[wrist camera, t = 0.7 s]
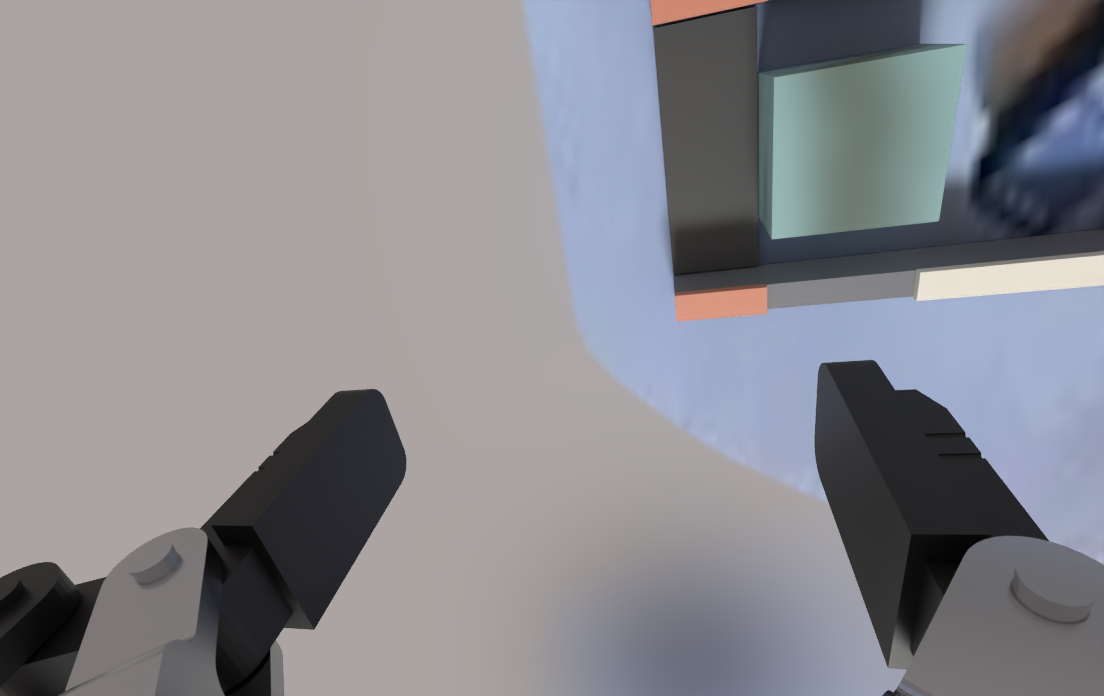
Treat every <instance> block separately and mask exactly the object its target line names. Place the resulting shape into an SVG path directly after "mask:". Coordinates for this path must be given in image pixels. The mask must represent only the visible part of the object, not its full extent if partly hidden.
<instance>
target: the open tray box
mask: <svg viewBox="0 0 1104 696" xmlns="http://www.w3.org/2000/svg"><path fill="white" fill-rule="evenodd" d="M767 1H772V0H650V2H651V14H652V25H653V26H655V25H660V24H664V23H669V22H674V21H678V20H683V19H688V18H692V17H697V16H702V15H706V14H711V13H716V12H720V11H725V10H730V9H734V8H739V7H744V6H748V5H753V4H758V3H762V2H767ZM653 29H654V41H655V53H656V65H657V77H658V90H659V102H660V114H661V126H662V138H663V150H664V162H665V175H666V187H667V199H668V211H669V223H670V235H671V247H672V259H673V272H674V288H675V303H676V315H677V321H687V320H699V319H710V318H722V317H734V316H746V315H758V314H767V309H771V308H783V307H794V306H806V305H817V304H829V303H841V302H852V301H864V300H875V299H887V298H898V297H910V296H913V298H914V299H915V300H916V301H923V300H935V299H947V298H959V297H970V296H982V295H994V294H1006V293H1018V292H1029V291H1041V290H1053V289H1065V288H1077V287H1089V286H1100V285H1104V229H1097V230H1088V231H1078V232H1069V233H1059V234H1050V235H1040V236H1031V237H1021V238H1012V239H1002V240H993V241H983V242H974V243H964V244H954V245H945V246H935V247H926V248H916V249H907V250H897V251H888V252H878V253H869V254H859V255H850V256H840V257H831V258H821V259H812V260H802V261H793V262H783V263H774V264H764V265H758V141H757V6H756V7H752V8H747V9H742V10H738V11H733V12H728V13H724V14H719V15H714V16H709V17H705V18H700V19H695V20H691V21H686V22H681V23H677V24H672V25H667V26H662V27H658V28H653Z"/></svg>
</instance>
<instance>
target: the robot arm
mask: <svg viewBox="0 0 1104 696" xmlns="http://www.w3.org/2000/svg"><path fill="white" fill-rule="evenodd" d="M273 453H274V454H273V456H269V457H268V458H267V459H266V460H265V461H264V462H263V463H262V464H261V465H260V466H259V470H258V471H255V472H254V473H253V474H252V475H251V476H250V477H249V478H248V479H247V480H246V481H245V482H244V483H243V484H242V485H241V486H240V487H239V488H238V489H237V490H236V492H235V493H234V494H233V495H232V496H231V497H230V498H229V499H228V500H227V501H226V502H225V503H224V504H223V505H222V506H221V507H220V508H219V509H218V510H217V511H216V512H215V513H214V514H213V516H212V517H211V518H210V519H209V520H208V521H207V522H206V523H205V524H204V525H203V526H202V527H201V528H200V529H198V528H183V529H178V530H174V531H171V532H168V533H165V534H163V535H161V536H158V537H156V538H154V539H152V540H150V541H148V542H147V543H145V544H143V545H142V546H140V547H139V548H137V549H136V550H134V551H133V552H131V553H130V554H129V555H128V556H127V557H125V558H124V559H123V560H122V561H121V562H120V563H118V564H117V565H116V566H115V567H114V568H113V570H112V571H111V572H110V573H109V574H108V576H107V577H105V578H101V579H97V580H93V581H89V582H85V583H81V584H77V585H74V584H73V583H72V581H71V580H70V579H69V578H68V577H67V576H66V574H65V573H64V572H63V571H62V570H61V569H60V567H59V566H58V565H57V564H54V563H52V562H43V563H37V564H33V565H30V566H26V567H23V568H21V569H18V570H16V571H13V572H12V573H9V574H7V575H5V576H3V577H1V578H0V696H284V678H283V655H282V650H281V648H280V646H279V644H278V643H277V641H276V638H277V637H278V635H279V634H280V632H281V631H282V629H283V628H297V629H313V630H314V629H315V627H316V626H317V624H318V622H319V621H320V619H321V617H322V616H323V614H324V612H325V610H326V608H327V607H328V605H329V604H330V602H331V600H332V599H333V597H334V595H335V594H336V592H337V590H338V589H339V587H340V585H341V583H342V582H343V580H344V579H345V577H346V575H347V574H348V572H349V570H350V569H351V567H352V565H353V564H354V562H355V560H356V558H357V557H358V555H359V553H360V551H361V550H362V548H363V547H364V545H365V543H366V542H367V540H368V538H369V537H370V535H371V533H372V531H373V530H374V528H375V527H376V525H377V523H378V522H379V520H380V518H381V516H382V515H383V513H384V512H385V510H386V508H387V506H388V505H389V503H390V501H391V500H392V498H393V496H394V495H395V493H396V491H397V490H398V488H399V486H400V485H401V483H402V481H403V479H404V475H405V471H406V455H405V451H404V448H403V445H402V442H401V440H400V437H399V435H398V432H397V429H396V427H395V424H394V422H393V419H392V416H391V414H390V411H389V409H388V406H387V403H386V401H385V399H384V397H383V395H382V394H381V393H380V392H379V391H378V390H375V389H366V390H350V391H339V392H337V393H335V394H334V395H333V396H332V397H331V398H330V399H329V400H328V401H327V402H326V403H325V404H324V406H323V407H322V408H321V409H320V410H319V411H318V412H317V413H316V414H315V415H314V416H313V417H312V418H311V420H309V421H308V422H307V423H306V424H304V425H303V426H301V427H300V428H298V429H297V430H295V431H294V432H292V433H291V434H290V435H289V436H288V437H287V438H286V439H285V440H284V441H283V442H282V443H281V444H280V445H279V446H278V447H277V449H276V450H275V451H274V452H273ZM815 456H816V463H817V468H818V473H819V476H820V480H821V482H822V485H823V488H824V491H825V493H826V496H827V499H828V502H829V505H830V507H831V510H832V513H833V516H834V519H835V521H836V524H837V527H838V529H839V532H840V535H841V538H842V541H843V544H844V546H845V549H846V552H847V555H848V558H849V560H850V563H851V565H852V569H853V572H854V574H855V577H856V580H857V583H858V586H859V588H860V591H861V594H862V597H863V600H864V602H865V605H866V608H867V611H868V613H869V616H870V619H871V622H872V625H873V627H874V630H875V633H876V636H877V639H878V641H879V644H880V647H881V650H882V652H883V655H884V658H885V661H886V663H887V666H888V668H896V669H907V671H906V673H905V675H904V677H903V679H902V680H901V683H900V684H899V686H898V687H897V689H896V690H895V692H894V693H893V692H891V691H890V690H888V691H886V692H885V693H884V695H883V696H1104V565H1103V564H1101V563H1099V562H1098V561H1096V560H1094V559H1092V558H1090V557H1088V556H1086V555H1084V554H1082V553H1080V552H1078V551H1075V550H1073V549H1070V548H1068V547H1066V546H1062V545H1059V544H1056V543H1053V542H1050V541H1049V540H1048V539H1047V538H1046V536H1045V535H1044V534H1043V533H1042V531H1041V530H1040V529H1039V527H1038V526H1037V525H1036V523H1035V522H1034V521H1033V520H1032V518H1031V517H1030V516H1029V514H1028V513H1027V512H1026V511H1025V509H1024V508H1023V507H1022V505H1021V504H1020V503H1019V501H1018V500H1017V499H1016V498H1015V496H1014V495H1013V494H1012V492H1011V491H1010V490H1009V489H1008V487H1007V486H1006V485H1005V483H1004V482H1003V481H1002V479H1001V478H1000V477H999V476H998V474H997V473H996V472H995V470H994V469H993V468H992V467H991V465H990V464H989V463H988V461H987V460H986V459H985V458H984V459H982V457H981V452H980V451H979V450H978V448H977V447H976V446H975V445H974V443H973V442H972V441H971V439H970V438H969V437H967V438H966V436H965V432H964V430H963V429H962V428H961V426H960V425H959V424H958V423H957V421H956V420H955V419H954V417H953V416H952V415H951V413H950V412H949V411H948V410H947V408H945V407H943V406H942V405H940V404H938V403H937V402H935V401H934V400H932V399H930V398H929V397H927V396H926V395H924V394H922V393H921V392H919V391H917V390H916V389H915V390H895V389H894V388H893V386H892V385H891V383H890V382H889V380H888V379H887V377H886V376H885V374H884V373H883V371H882V370H881V368H880V367H879V365H878V364H877V363H876V362H875V361H874V360H865V361H848V362H832V363H822V364H821V365H820V367H819V372H818V385H817V404H816V422H815Z"/></svg>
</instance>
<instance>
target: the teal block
mask: <svg viewBox="0 0 1104 696" xmlns="http://www.w3.org/2000/svg"><path fill="white" fill-rule="evenodd" d="M966 47H967V44H916V45H910V46H905V47H899V48H894V49H888V50H882V51H877V52H871V53H865V54H860V55H854V56H848V57H843V58H837V59H831V60H826V61H820V62H814V63H809V64H803V65H797V66H792V67H786V68H780V69H775V70H769V71H764V72H758V128H757V141H758V216H759V218H760V220H761V221H762V223H763V225H764V227H765V228H766V230H767V232H768V234H769V236H770V237H771V239H781V238H790V237H799V236H809V235H818V234H827V233H836V232H846V231H855V230H864V229H873V228H882V227H892V226H901V225H910V224H919V223H928V222H938V221H939V217H940V211H941V205H942V198H943V192H944V186H945V180H946V173H947V167H948V161H949V154H950V148H951V142H952V136H953V129H954V123H955V117H956V110H957V104H958V98H959V91H960V85H961V79H962V73H963V66H964V60H965V54H966Z"/></svg>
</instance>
